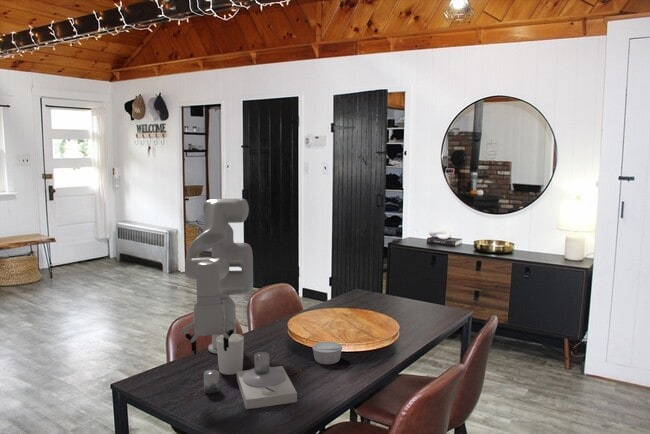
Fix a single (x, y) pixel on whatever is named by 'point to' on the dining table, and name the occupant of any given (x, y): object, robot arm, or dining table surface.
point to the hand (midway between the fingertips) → (210, 351)
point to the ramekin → (327, 352)
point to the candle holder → (230, 354)
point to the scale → (266, 388)
